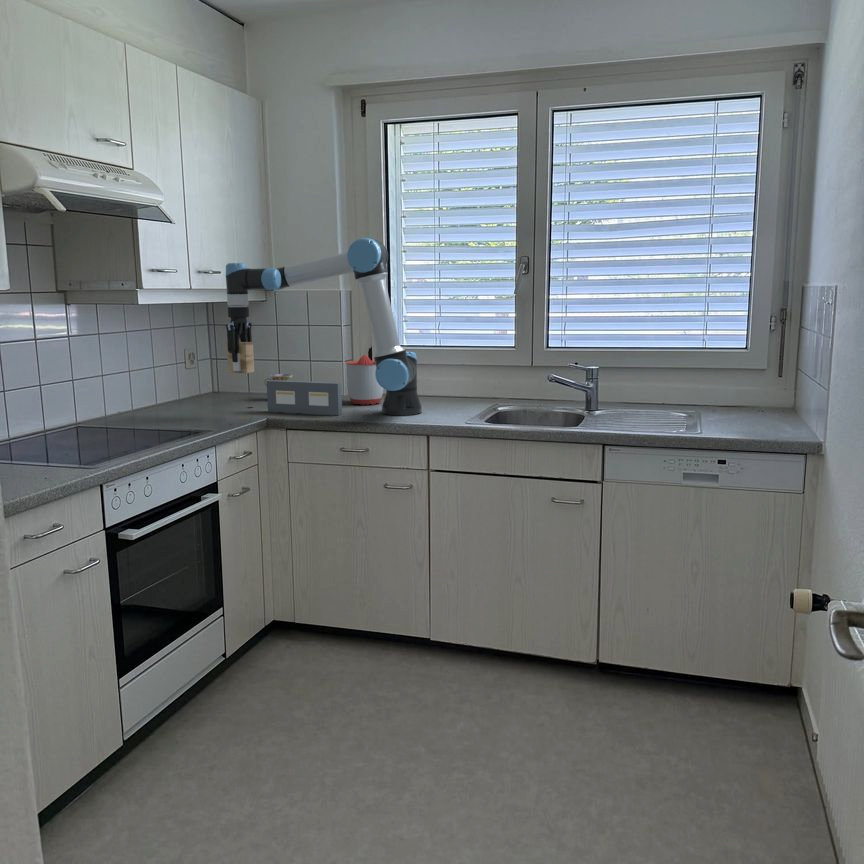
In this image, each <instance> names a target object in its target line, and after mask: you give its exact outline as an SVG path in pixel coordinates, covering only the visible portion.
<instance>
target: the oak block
mask: <svg viewBox="0 0 864 864" xmlns="http://www.w3.org/2000/svg"><path fill="white" fill-rule="evenodd" d="M235 350H236V349H235ZM238 353H240V366H241V371H233V361H232V353H229V352H228V341H226V355H227V356H226V357H227V359H226V360H227V372H228V373H229V374H230V373H231V374H232V373H233V374H236V373H237V374H249V373H254V372H255V356H254V355H255V354H254V342H253V341H252V342H241V341H239V350H238Z"/></svg>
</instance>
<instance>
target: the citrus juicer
mask: <svg viewBox="0 0 864 864" xmlns="http://www.w3.org/2000/svg"><path fill="white" fill-rule="evenodd" d="M345 365H346V387H347V389H346V390H347V392H348V397H349V400H350V402H351V404H353V405H354V404H360V405H364V406H365V404H366V405H369V404H374V405H376V403H377V404H380V403H381V401H382V397H383V394H384V390H385V389H384V388H382V387H381V386H380V385H379V384H378V382H377V380H376V376H375V372H376V364H375V360H371V358H370V357H369V356H368V355H367V354H363V355H362V356H361V357H360V359H358V360H351V361H350V360H349V361H346V362H345ZM379 402H380V403H379Z"/></svg>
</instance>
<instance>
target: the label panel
mask: <svg viewBox="0 0 864 864" xmlns="http://www.w3.org/2000/svg"><path fill="white" fill-rule="evenodd" d="M266 385H267V387H266V395H267V397H266V398H267V412H268V411H269V412H268V413H277V412H284V413H283V414H296V413H303V414H302V415H318V416H319V415H321V416H334V415H338V417H339V416H342V415H343V398H342V396H343V395H342V382H333V381H332V382H330V381H329V382H327V381H308V380H307V381H304V380H303V381H302V380H291V381H282V380H272V379H271V380H269V379H268V380H266ZM341 414H342V415H341Z"/></svg>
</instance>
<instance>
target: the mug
mask: <svg viewBox="0 0 864 864" xmlns="http://www.w3.org/2000/svg"><path fill="white" fill-rule="evenodd" d="M293 377H294V375H293V374H291V373H278V374H277V373H276V374H271V375H270V378H266V379H264V385H265V387H266V388H267V381H269V380H282V381H293V380H292V379H293Z"/></svg>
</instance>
